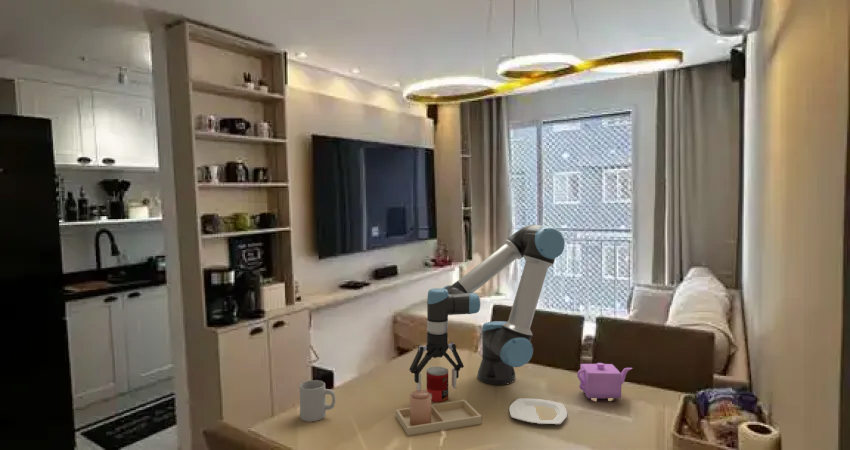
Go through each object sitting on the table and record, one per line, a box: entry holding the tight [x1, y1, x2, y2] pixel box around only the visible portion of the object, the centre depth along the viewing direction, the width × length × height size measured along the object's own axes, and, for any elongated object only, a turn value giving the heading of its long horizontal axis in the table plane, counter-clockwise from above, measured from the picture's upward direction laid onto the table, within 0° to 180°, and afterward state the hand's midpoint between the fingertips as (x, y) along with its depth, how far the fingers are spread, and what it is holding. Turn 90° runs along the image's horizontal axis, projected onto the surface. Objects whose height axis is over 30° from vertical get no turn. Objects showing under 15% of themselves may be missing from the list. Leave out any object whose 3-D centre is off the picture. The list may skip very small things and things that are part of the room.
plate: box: [509, 397, 568, 425], centre depth 171 cm, size 19×19×2 cm
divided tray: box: [395, 399, 483, 437], centre depth 166 cm, size 25×14×3 cm, turn 109°
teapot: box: [576, 362, 633, 399], centre depth 185 cm, size 20×10×12 cm, turn 88°
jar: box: [409, 389, 432, 426], centre depth 164 cm, size 7×7×10 cm
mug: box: [299, 379, 336, 423], centre depth 170 cm, size 12×8×11 cm
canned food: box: [426, 366, 449, 403], centre depth 184 cm, size 8×8×11 cm
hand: (436, 389), depth 184 cm, fingers open, 13 cm apart
